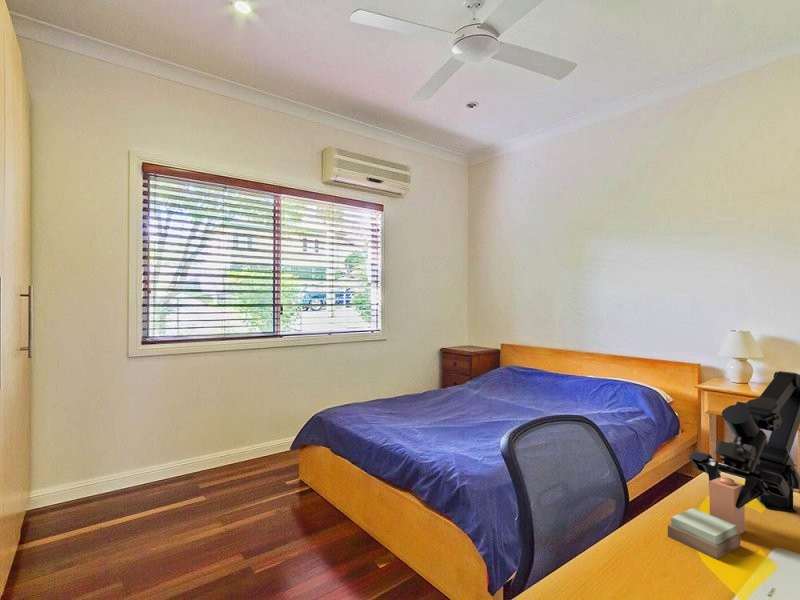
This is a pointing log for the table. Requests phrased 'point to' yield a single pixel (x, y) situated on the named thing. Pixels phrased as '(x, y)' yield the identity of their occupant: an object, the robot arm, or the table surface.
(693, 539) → the base brick
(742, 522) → the top brick
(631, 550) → the table surface
